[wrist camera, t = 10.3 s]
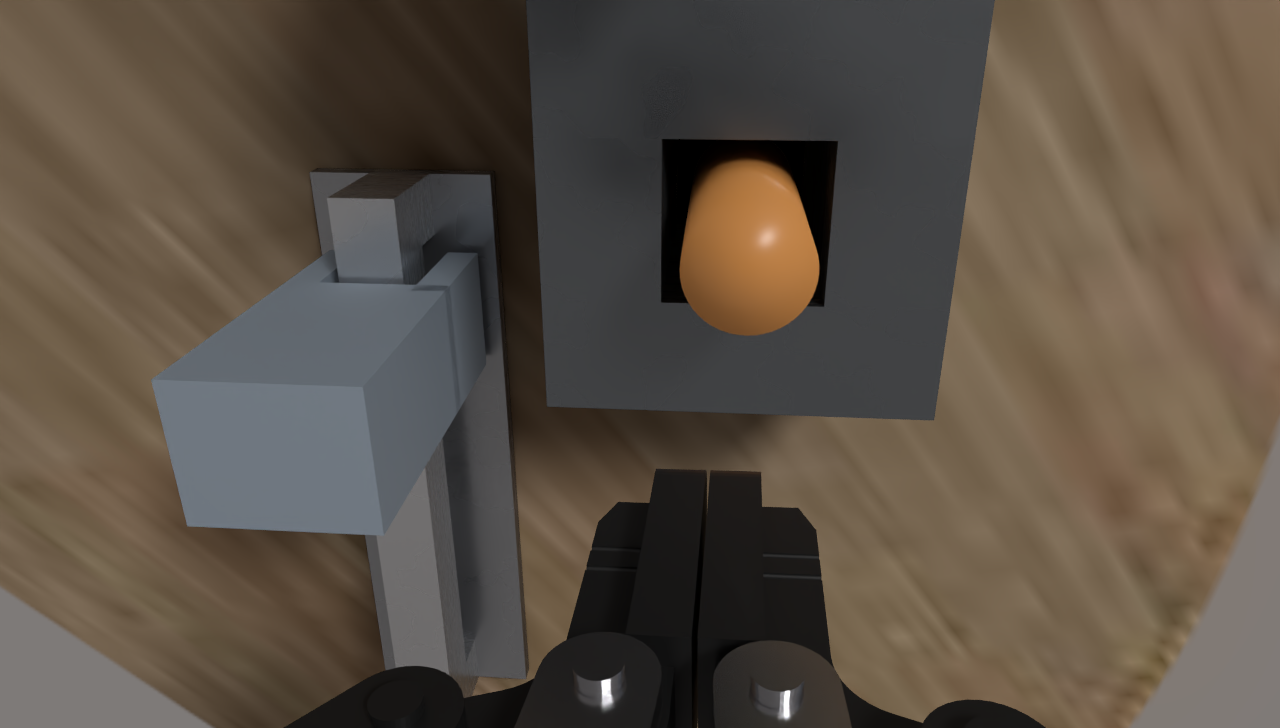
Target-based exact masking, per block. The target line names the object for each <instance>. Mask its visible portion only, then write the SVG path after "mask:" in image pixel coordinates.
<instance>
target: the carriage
mask: <svg viewBox="0 0 1280 728" xmlns="http://www.w3.org/2000/svg"><path fill="white" fill-rule="evenodd" d="M485 366H486V352H485V340H484V328H483V315H482V303H481V290H480V278H479V265H478V253H454V252H448V253H447V254H446V255H445V256H444V257H443V258H442V259H441V260H440V261H439V262H438V263H437V264H436V265H435V266H434V267H433V268H432V269H431V270H430V271H429V272H428V273H427V275H426V276H425V277H424V278H423V279H422V280H421V281H420V282H419V283H418V284H417V285H402V284H362V283H339V277H338V271H337V264H336V257H335V250H329V251H328V252H327V253H325V254H324V255H323V256H321V257H320V258H318V259H317V260H316V261H314V262H313V263H311V264H310V265H309V266H307V267H306V268H305V269H303V270H302V271H300V272H299V273H298V274H296V275H295V276H294V277H292V278H291V279H289V280H288V281H287V282H285V283H284V284H283V285H281V286H280V287H278V288H277V289H276V290H274V291H273V292H271V293H270V294H269V295H267V296H266V297H265V298H263V299H262V300H260V301H259V302H258V303H256V304H255V305H254V306H252V307H251V308H249V309H248V310H247V311H245V312H244V313H243V314H241V315H240V316H238V317H237V318H236V319H234V320H233V321H231V322H230V323H229V324H227V325H226V326H225V327H223V328H222V329H220V330H219V331H218V332H216V333H215V334H214V335H212V336H211V337H209V338H208V339H207V340H205V341H204V342H203V343H201V344H200V345H198V346H197V347H196V348H194V349H193V350H191V351H190V352H189V353H187V354H186V355H185V356H183V357H182V358H180V359H179V360H178V361H176V362H175V363H174V364H172V365H171V366H169V367H168V368H167V369H165V370H164V371H163V372H161V373H160V374H158V375H157V376H156V377H154V378H153V379H151V381H152V385H153V389H154V393H155V397H156V401H157V405H158V409H159V413H160V417H161V422H162V426H163V430H164V434H165V438H166V442H167V446H168V450H169V454H170V458H171V462H172V466H173V470H174V474H175V478H176V482H177V486H178V490H179V494H180V498H181V502H182V506H183V510H184V514H185V518H186V523H187V526H193V527H214V528H235V529H255V530H276V531H297V532H318V533H338V534H359V535H380V536H384V535H385V533H386V532H387V530H388V528H389V526H390V525H391V523H392V521H393V520H394V518H395V516H396V515H397V513H398V511H399V510H400V508H401V506H402V505H403V503H404V501H405V500H406V498H407V496H408V495H409V493H410V491H411V490H412V488H413V486H414V485H415V483H416V481H417V480H418V478H419V476H420V475H421V473H422V471H423V470H424V468H425V466H426V464H427V463H428V461H429V459H430V458H431V456H432V454H433V453H434V451H435V449H436V448H437V446H438V444H439V443H440V441H441V439H442V438H443V436H444V434H445V433H446V431H447V429H448V428H449V426H450V424H451V423H452V421H453V419H454V418H455V416H456V414H457V413H458V411H459V409H460V408H461V406H462V404H463V402H464V401H465V399H466V397H467V396H468V394H469V392H470V391H471V389H472V387H473V386H474V384H475V382H476V381H477V379H478V377H479V376H480V374H481V372H482V371H483V369H484V367H485Z"/></svg>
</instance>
